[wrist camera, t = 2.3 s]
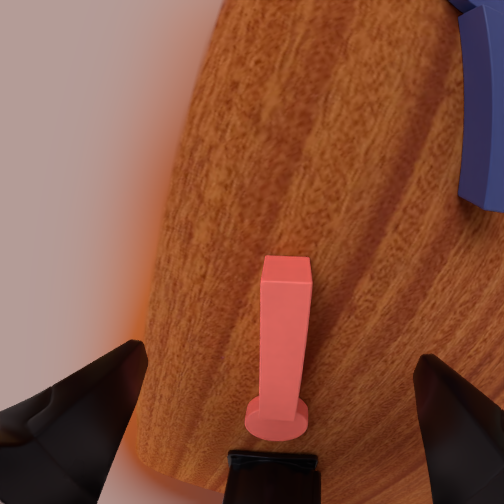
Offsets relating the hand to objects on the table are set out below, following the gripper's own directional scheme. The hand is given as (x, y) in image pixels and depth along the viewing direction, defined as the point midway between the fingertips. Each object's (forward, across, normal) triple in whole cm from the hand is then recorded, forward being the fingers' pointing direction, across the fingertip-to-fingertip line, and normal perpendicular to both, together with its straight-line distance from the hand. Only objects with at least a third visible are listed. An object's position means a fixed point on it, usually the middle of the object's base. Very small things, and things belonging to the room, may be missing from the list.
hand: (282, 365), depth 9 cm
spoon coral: (+5, 0, +5) cm, 7 cm away
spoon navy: (+5, -8, -11) cm, 14 cm away
